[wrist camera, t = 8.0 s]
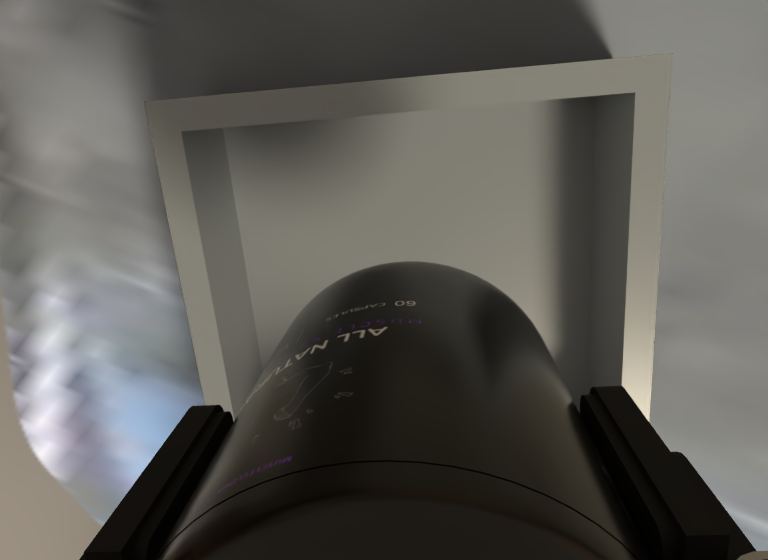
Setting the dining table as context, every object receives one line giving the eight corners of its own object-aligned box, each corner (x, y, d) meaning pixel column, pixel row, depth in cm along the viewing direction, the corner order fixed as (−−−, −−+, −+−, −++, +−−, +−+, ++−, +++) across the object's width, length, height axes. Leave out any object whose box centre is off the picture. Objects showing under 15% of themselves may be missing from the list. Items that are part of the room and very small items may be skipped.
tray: (615, 63, 21) (672, 53, 16) (603, 415, 26) (644, 487, 21) (202, 100, 23) (144, 101, 18) (258, 429, 27) (224, 500, 22)
